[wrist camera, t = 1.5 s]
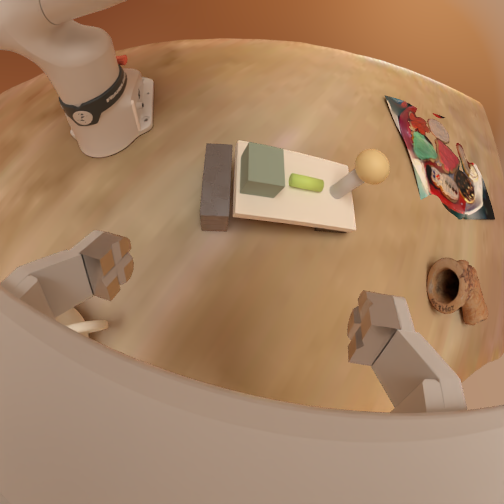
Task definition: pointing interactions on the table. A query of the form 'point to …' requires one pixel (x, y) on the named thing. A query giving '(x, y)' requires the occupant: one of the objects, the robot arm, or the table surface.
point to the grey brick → (219, 189)
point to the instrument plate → (298, 197)
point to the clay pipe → (456, 290)
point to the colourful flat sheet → (441, 165)
